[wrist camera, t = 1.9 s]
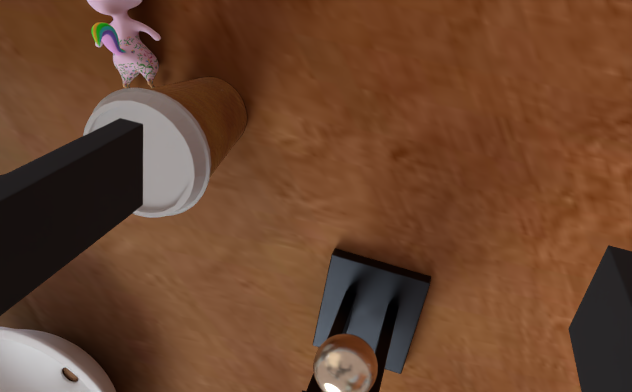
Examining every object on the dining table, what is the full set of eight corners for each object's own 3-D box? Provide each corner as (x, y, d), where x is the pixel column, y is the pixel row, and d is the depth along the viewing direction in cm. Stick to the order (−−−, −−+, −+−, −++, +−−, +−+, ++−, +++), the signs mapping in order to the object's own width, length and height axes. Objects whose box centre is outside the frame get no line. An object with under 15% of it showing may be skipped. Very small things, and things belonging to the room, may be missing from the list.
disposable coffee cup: (173, 41, 46) (81, 71, 35) (276, 80, 45) (213, 124, 34) (157, 140, 50) (71, 193, 40) (250, 178, 49) (188, 243, 39)
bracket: (334, 247, 50) (282, 355, 37) (431, 276, 48) (411, 398, 36) (315, 337, 55) (263, 459, 42) (402, 366, 54) (376, 501, 41)
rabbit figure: (189, 80, 48) (128, -110, 40) (157, 109, 44) (81, -100, 36) (129, 85, 50) (60, -96, 42) (92, 113, 46) (7, -84, 38)
